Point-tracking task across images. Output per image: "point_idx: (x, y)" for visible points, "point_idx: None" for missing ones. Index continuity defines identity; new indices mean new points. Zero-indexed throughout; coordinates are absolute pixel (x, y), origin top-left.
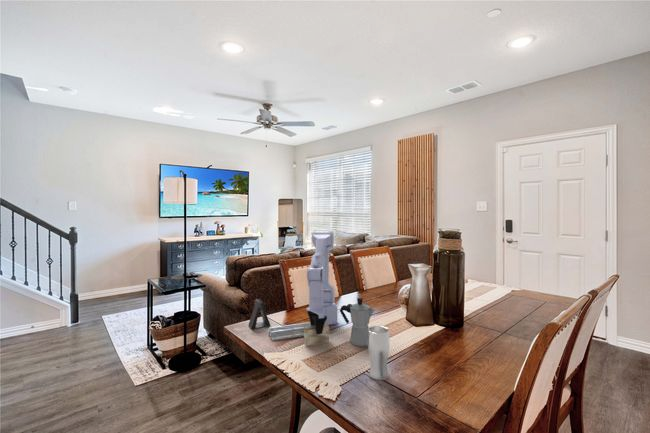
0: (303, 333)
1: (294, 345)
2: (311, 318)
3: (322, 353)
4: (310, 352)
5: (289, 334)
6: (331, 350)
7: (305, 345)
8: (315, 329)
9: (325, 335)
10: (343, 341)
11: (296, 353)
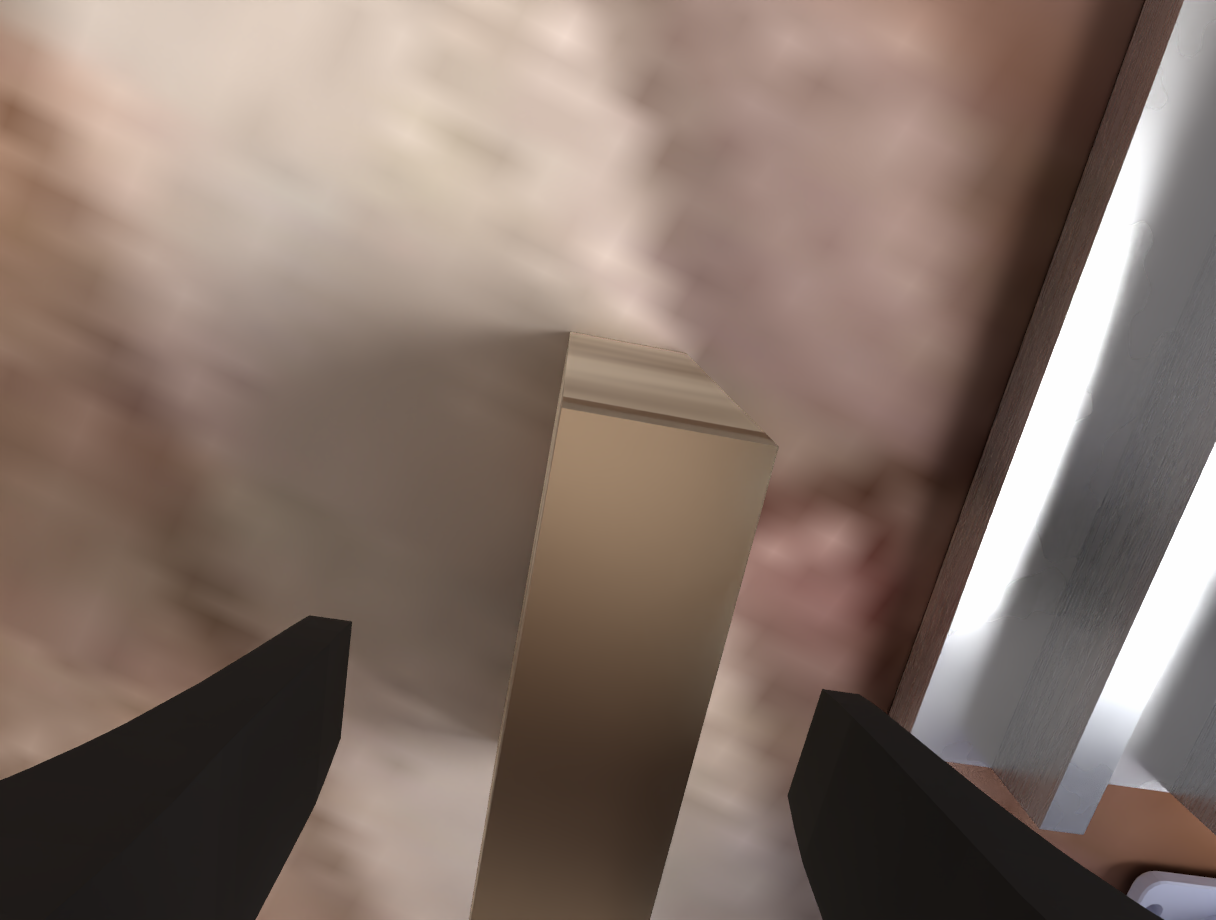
0: (1020, 504)
1: (714, 136)
2: (964, 910)
3: (141, 466)
4: (267, 292)
5: (1189, 219)
6: (192, 642)
7: (576, 333)
8: (510, 692)
9: (492, 780)
10: (414, 916)
11: (344, 5)
